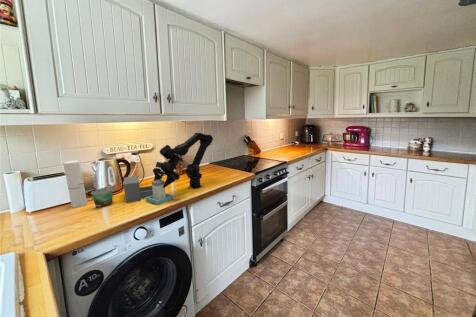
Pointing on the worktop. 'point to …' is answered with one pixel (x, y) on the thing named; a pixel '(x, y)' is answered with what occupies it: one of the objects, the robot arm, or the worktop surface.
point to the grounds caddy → (158, 189)
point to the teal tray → (161, 201)
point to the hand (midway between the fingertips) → (158, 186)
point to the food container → (103, 196)
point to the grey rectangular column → (75, 183)
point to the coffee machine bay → (135, 189)
